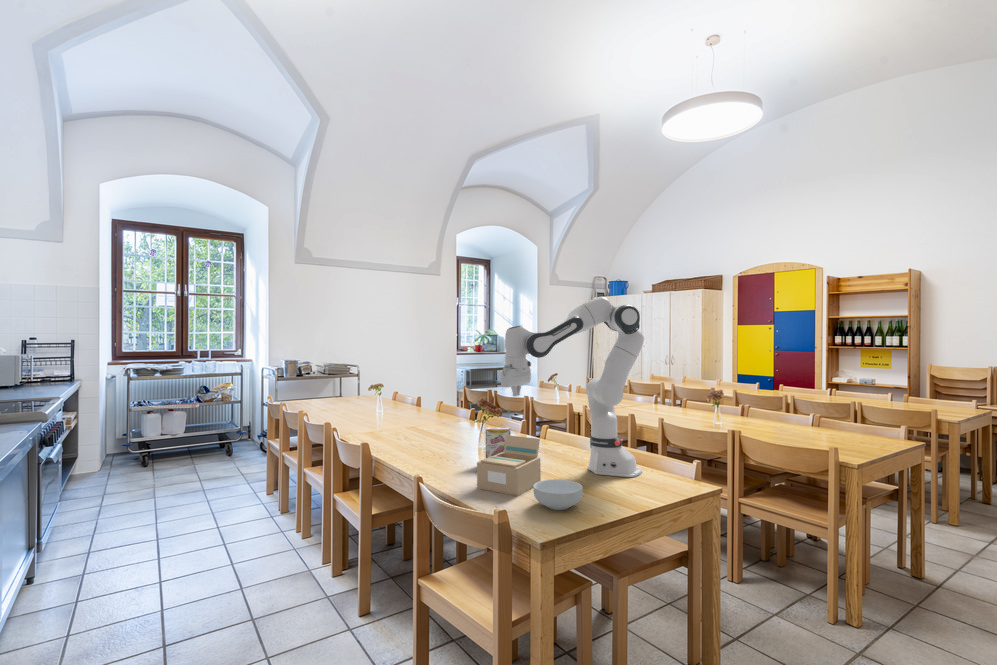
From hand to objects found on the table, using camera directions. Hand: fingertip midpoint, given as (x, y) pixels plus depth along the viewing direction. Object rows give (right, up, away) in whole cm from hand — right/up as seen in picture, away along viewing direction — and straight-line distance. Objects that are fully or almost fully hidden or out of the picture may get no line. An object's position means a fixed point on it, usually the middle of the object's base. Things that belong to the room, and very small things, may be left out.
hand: (516, 396), depth 215 cm
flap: (-6, -22, -23) cm, 33 cm away
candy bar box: (-8, -33, +12) cm, 35 cm away
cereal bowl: (+13, -33, -43) cm, 55 cm away
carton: (-3, -33, -19) cm, 38 cm away
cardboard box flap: (+2, -19, -11) cm, 22 cm away
